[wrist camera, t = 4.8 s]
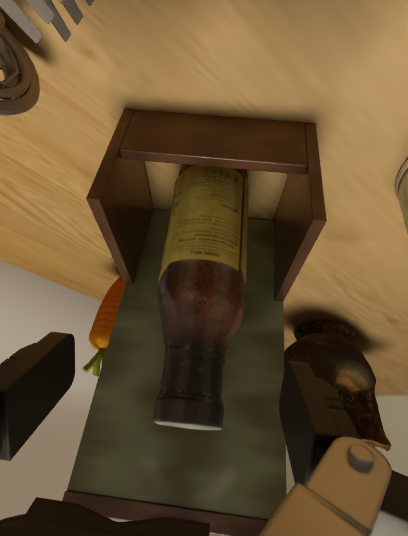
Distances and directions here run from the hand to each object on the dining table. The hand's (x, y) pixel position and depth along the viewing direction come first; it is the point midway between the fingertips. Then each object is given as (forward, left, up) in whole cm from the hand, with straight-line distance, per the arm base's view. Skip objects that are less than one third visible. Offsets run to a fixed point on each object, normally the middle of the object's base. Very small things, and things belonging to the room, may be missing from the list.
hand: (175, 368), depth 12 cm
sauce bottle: (+3, +7, -19) cm, 20 cm away
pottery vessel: (-2, +46, -19) cm, 50 cm away
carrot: (+22, +19, -19) cm, 35 cm away
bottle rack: (+3, +7, -18) cm, 20 cm away
